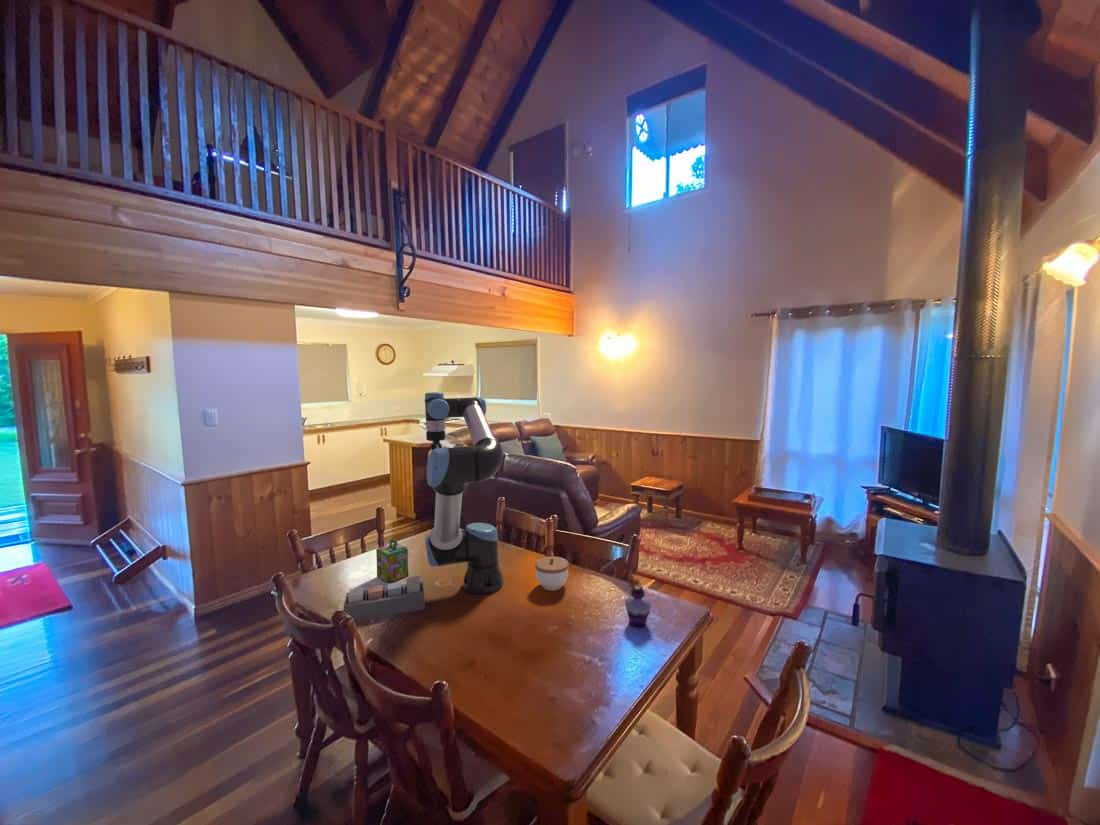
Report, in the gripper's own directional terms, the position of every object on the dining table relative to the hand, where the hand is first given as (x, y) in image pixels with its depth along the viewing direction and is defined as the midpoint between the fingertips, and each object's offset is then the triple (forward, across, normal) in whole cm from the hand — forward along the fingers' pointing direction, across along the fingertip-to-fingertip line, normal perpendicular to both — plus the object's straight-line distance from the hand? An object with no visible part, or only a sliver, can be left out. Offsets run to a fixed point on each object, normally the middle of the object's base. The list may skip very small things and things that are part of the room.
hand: (437, 487), depth 188 cm
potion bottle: (+34, +67, +54) cm, 93 cm away
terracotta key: (+32, +28, -25) cm, 49 cm away
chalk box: (+34, +2, -19) cm, 39 cm away
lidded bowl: (+34, +34, +37) cm, 61 cm away
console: (+34, +28, -22) cm, 49 cm away
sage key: (+30, +28, -12) cm, 43 cm away
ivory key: (+32, +27, -31) cm, 52 cm away
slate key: (+32, +28, -19) cm, 46 cm away
